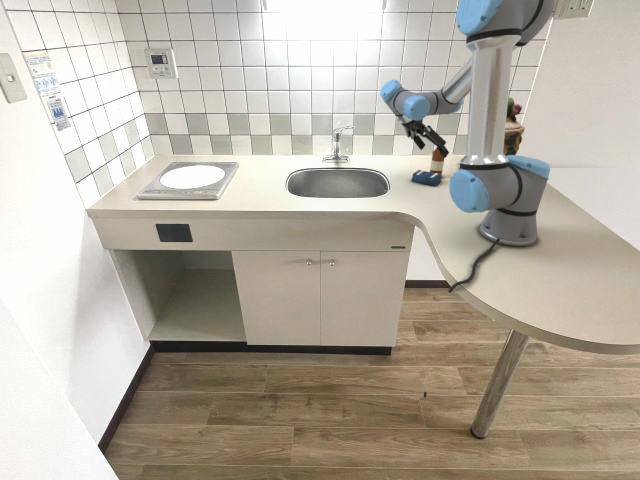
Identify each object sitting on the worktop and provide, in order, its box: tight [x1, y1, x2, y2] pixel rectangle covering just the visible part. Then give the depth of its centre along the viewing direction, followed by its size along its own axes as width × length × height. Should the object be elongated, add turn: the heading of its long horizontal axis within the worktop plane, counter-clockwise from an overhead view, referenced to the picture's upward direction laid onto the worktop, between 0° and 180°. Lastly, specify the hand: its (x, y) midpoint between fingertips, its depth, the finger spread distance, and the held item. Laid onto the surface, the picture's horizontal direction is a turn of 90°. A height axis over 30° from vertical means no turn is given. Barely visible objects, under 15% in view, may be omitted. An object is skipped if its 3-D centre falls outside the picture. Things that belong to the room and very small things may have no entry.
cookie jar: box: [458, 96, 526, 168], centre depth 145 cm, size 25×25×32 cm
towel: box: [411, 169, 443, 187], centre depth 144 cm, size 8×10×3 cm
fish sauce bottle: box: [429, 148, 445, 175], centre depth 146 cm, size 5×5×15 cm
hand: (434, 151), depth 143 cm, fingers open, 13 cm apart
